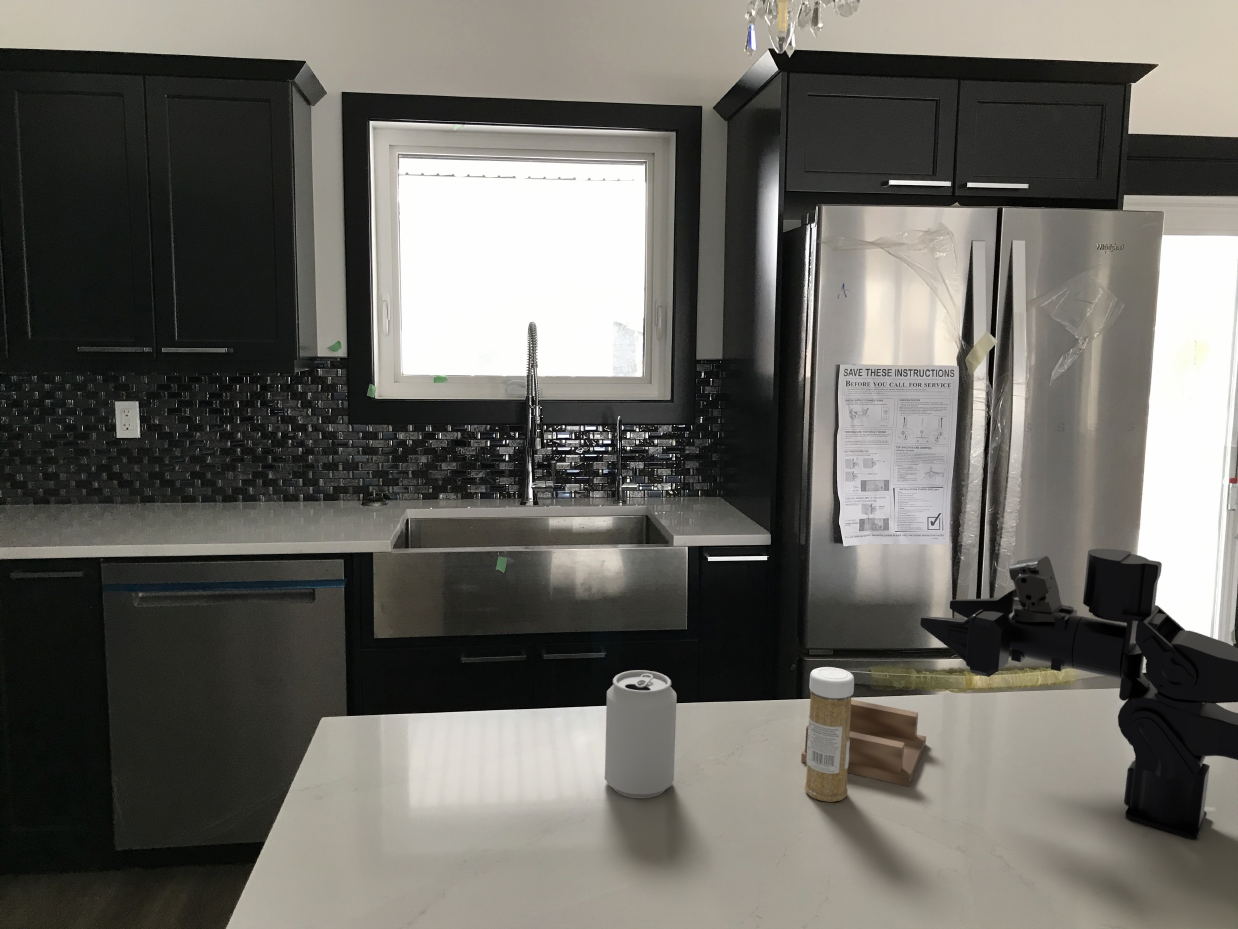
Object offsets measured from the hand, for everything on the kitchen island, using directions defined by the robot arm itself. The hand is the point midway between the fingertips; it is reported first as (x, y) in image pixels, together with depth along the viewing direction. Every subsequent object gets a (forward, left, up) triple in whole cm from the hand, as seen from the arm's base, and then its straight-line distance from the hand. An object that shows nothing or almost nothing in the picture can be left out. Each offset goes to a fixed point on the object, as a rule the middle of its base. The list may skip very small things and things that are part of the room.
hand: (936, 612), depth 110 cm
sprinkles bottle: (+4, +19, -17) cm, 26 cm away
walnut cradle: (+5, +7, -16) cm, 19 cm away
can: (+20, +31, -17) cm, 40 cm away
